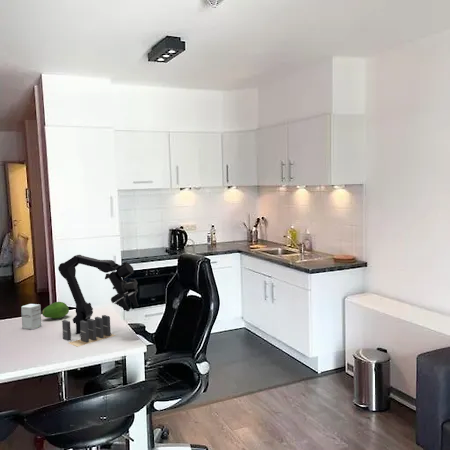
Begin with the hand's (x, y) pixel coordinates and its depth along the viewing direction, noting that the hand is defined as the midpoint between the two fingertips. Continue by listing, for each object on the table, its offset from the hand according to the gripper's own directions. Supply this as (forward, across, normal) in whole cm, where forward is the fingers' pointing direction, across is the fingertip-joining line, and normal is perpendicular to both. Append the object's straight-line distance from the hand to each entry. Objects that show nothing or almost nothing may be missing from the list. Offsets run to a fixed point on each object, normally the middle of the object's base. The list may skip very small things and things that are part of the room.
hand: (133, 308), depth 238 cm
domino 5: (+5, -3, +19) cm, 20 cm away
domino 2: (+2, -14, +24) cm, 28 cm away
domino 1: (-3, -14, +34) cm, 37 cm away
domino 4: (+4, -7, +21) cm, 22 cm away
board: (+3, -11, +23) cm, 25 cm away
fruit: (-19, +20, +61) cm, 67 cm away
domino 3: (+3, -11, +22) cm, 25 cm away
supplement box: (-20, +1, +63) cm, 66 cm away
